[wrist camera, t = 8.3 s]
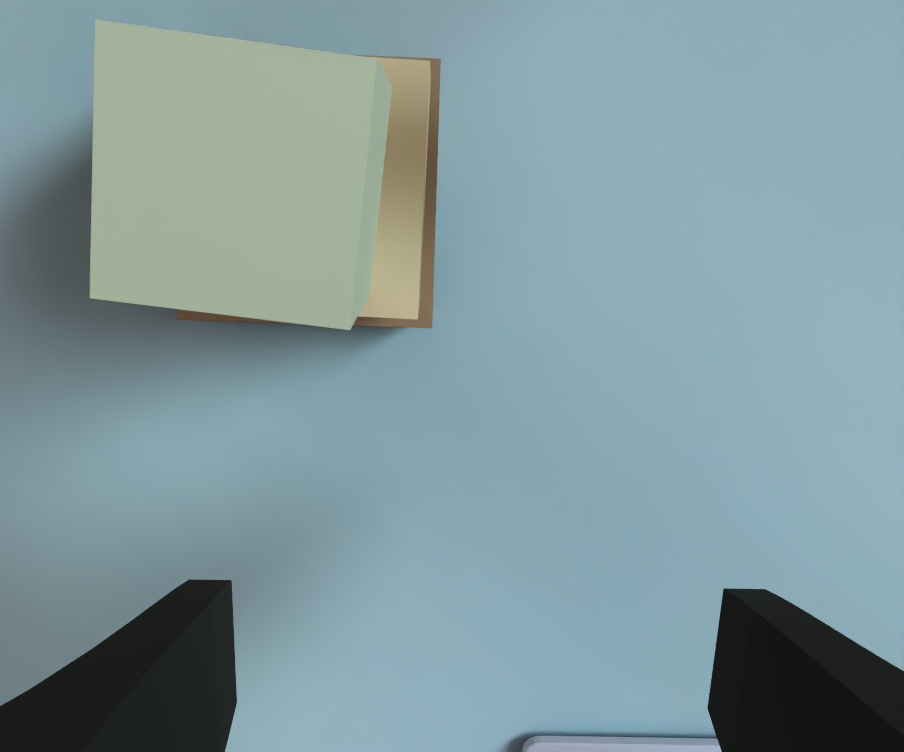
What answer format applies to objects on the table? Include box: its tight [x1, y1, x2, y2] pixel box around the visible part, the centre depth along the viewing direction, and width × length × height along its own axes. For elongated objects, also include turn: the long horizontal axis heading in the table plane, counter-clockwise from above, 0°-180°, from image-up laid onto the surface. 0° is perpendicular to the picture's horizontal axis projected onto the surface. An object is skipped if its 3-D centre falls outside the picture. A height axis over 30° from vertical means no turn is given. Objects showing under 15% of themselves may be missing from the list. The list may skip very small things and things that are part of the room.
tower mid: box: [358, 56, 431, 320], centre depth 17 cm, size 5×5×2 cm
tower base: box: [177, 55, 441, 328], centre depth 20 cm, size 6×6×2 cm
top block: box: [90, 19, 392, 330], centre depth 14 cm, size 4×4×4 cm
